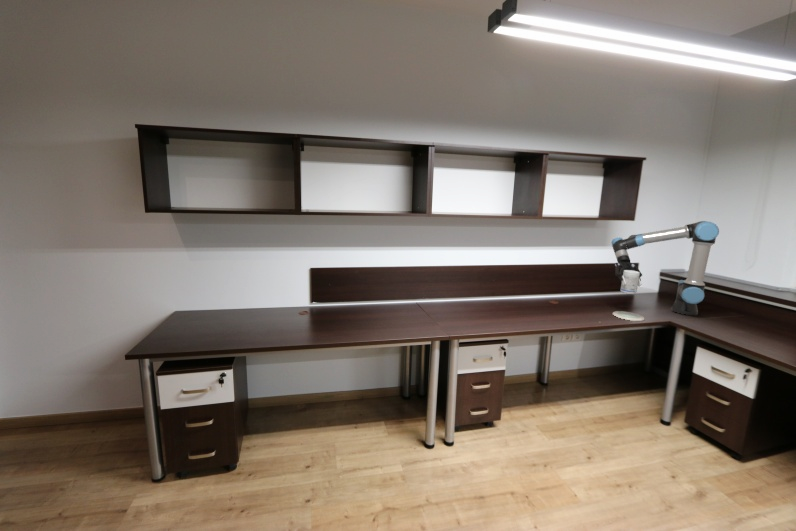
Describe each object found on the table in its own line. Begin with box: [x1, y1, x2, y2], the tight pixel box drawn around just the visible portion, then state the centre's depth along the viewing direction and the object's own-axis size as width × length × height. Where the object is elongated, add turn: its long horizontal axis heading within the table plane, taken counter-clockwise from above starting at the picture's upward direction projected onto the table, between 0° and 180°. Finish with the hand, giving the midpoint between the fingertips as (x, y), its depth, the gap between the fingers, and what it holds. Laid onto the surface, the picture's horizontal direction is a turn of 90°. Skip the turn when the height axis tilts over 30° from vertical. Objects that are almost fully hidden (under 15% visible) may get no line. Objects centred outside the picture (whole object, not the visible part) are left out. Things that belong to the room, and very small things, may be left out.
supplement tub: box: [619, 269, 641, 295], centre depth 251 cm, size 10×10×15 cm
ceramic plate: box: [612, 310, 645, 322], centre depth 247 cm, size 18×18×1 cm
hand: (632, 285), depth 248 cm, fingers closed on supplement tub, 9 cm apart
